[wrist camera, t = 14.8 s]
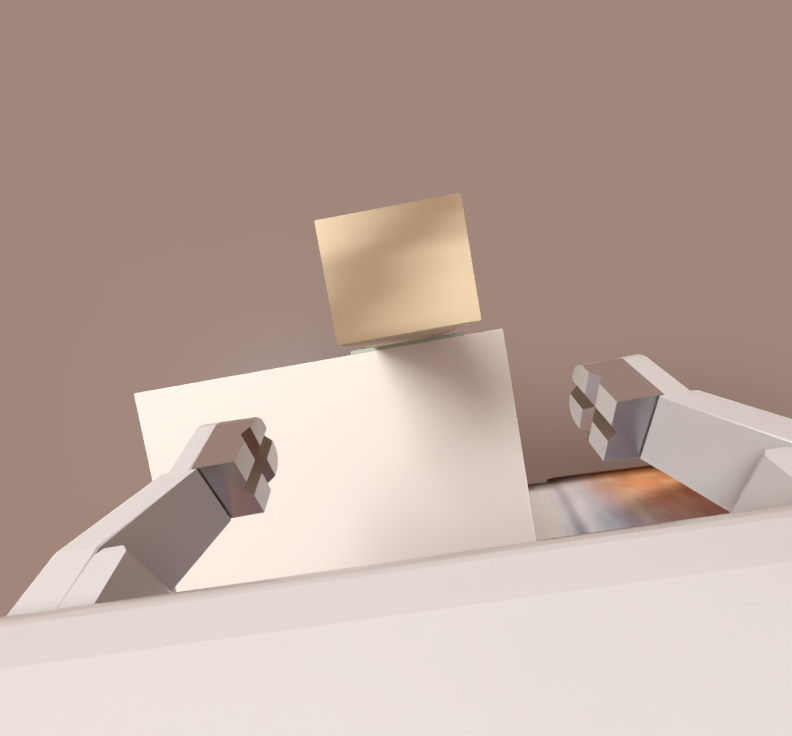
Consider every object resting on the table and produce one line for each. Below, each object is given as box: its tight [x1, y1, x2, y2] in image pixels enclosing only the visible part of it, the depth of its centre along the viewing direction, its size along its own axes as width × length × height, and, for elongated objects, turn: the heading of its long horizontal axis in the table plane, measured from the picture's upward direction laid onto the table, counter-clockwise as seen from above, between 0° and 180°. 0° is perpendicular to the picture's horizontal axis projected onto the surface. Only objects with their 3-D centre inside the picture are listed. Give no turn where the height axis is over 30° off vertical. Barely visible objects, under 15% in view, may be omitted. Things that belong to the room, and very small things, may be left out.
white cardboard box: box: [134, 329, 537, 592], centre depth 26 cm, size 20×14×26 cm
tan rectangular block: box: [315, 193, 481, 347], centre depth 20 cm, size 4×24×3 cm, turn 179°
